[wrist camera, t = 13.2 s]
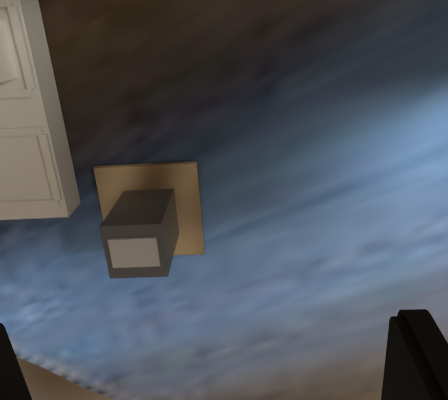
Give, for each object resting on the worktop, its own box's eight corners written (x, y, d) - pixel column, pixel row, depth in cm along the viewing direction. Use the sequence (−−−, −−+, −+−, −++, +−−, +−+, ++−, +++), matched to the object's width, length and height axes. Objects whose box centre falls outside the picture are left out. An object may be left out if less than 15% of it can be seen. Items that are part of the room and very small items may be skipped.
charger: (123, 190, 36) (98, 227, 30) (174, 188, 36) (160, 225, 29) (131, 235, 38) (109, 279, 31) (179, 233, 38) (167, 277, 31)
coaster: (196, 161, 36) (196, 163, 35) (204, 250, 39) (204, 254, 39) (95, 165, 36) (93, 167, 36) (112, 254, 40) (110, 257, 39)
